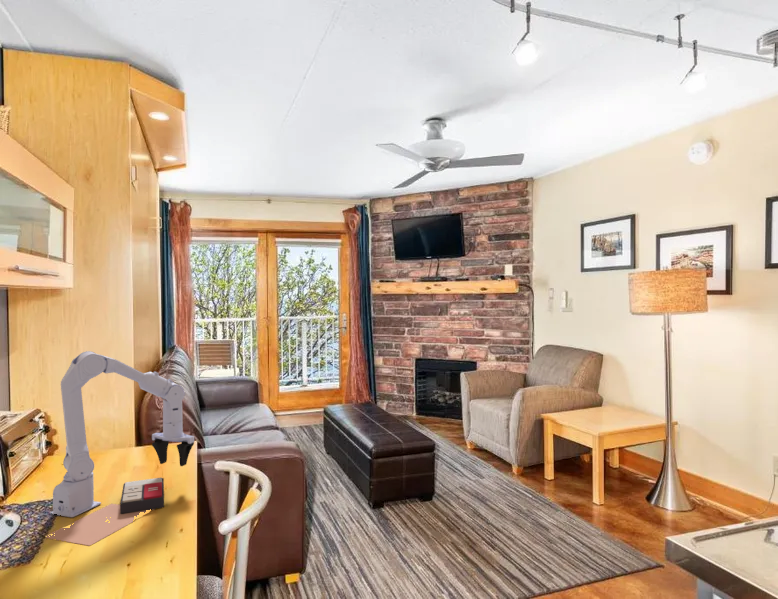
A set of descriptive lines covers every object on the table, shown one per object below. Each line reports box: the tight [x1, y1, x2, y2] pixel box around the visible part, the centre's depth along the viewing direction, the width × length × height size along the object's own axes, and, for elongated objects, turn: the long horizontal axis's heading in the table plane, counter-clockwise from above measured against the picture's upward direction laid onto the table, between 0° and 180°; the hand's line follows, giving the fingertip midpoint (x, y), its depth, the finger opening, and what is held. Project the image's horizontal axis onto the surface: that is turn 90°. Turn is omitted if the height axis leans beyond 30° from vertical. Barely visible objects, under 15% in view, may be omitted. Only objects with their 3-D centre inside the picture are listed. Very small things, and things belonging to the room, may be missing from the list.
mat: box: [45, 503, 146, 547], centre depth 133 cm, size 21×15×1 cm
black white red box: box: [119, 477, 165, 514], centre depth 146 cm, size 11×4×15 cm
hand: (173, 464), depth 158 cm, fingers open, 7 cm apart
